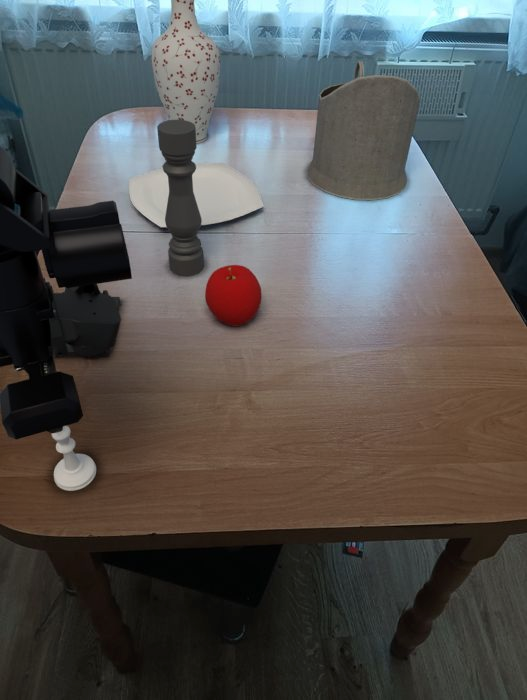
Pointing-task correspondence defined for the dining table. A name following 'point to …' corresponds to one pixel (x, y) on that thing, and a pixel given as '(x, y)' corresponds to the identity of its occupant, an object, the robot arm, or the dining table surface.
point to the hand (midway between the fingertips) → (52, 408)
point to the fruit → (233, 294)
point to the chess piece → (72, 464)
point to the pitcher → (364, 136)
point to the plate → (198, 194)
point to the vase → (186, 69)
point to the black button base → (89, 351)
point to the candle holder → (181, 196)
